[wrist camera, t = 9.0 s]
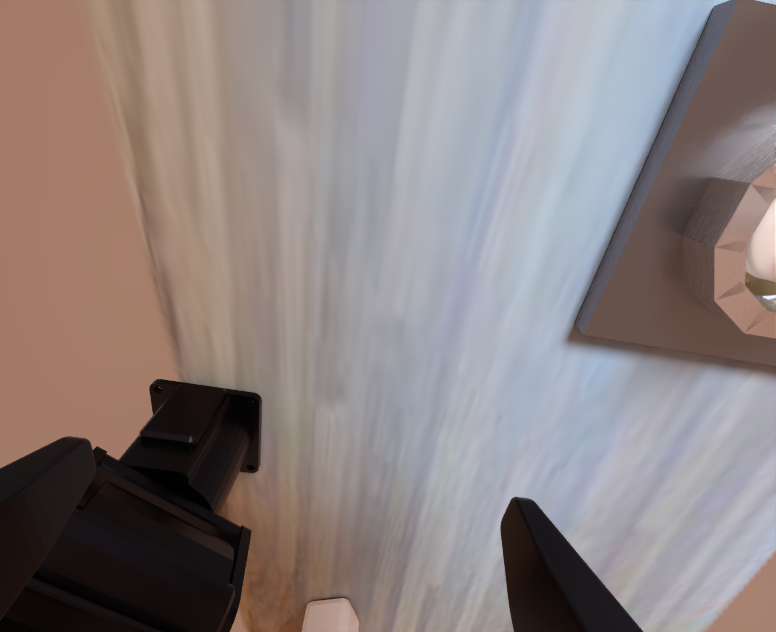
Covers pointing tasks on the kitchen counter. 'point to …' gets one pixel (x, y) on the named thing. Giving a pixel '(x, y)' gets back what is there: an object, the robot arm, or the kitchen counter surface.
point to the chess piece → (763, 248)
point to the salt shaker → (330, 616)
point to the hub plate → (701, 206)
